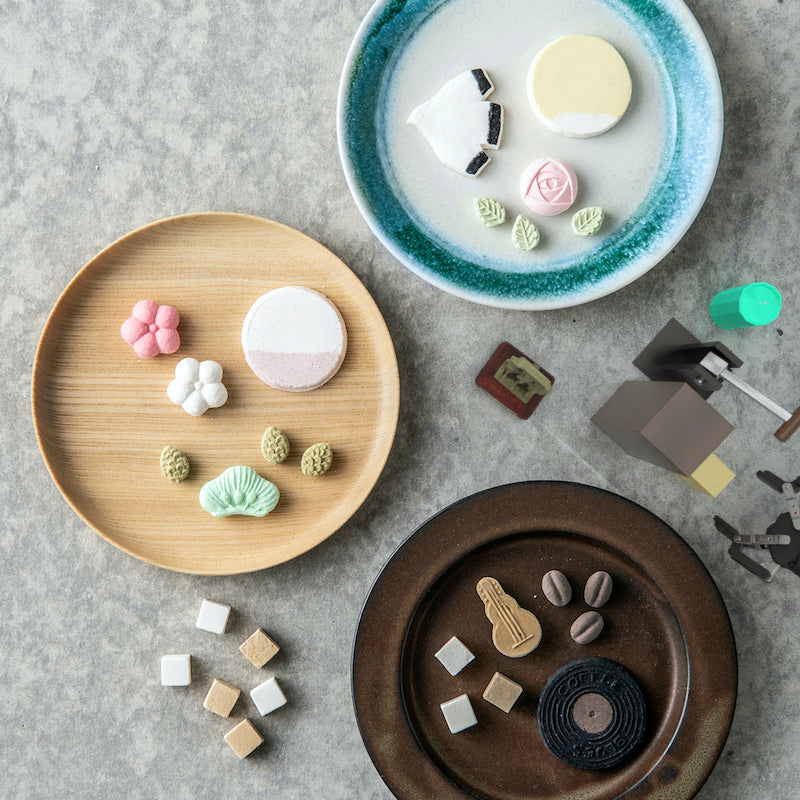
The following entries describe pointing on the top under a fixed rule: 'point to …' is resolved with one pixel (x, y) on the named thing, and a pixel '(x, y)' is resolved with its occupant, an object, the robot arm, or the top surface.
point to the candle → (746, 306)
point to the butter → (710, 476)
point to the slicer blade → (754, 396)
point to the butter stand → (663, 424)
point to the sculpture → (514, 380)
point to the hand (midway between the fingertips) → (736, 496)
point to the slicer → (683, 359)
